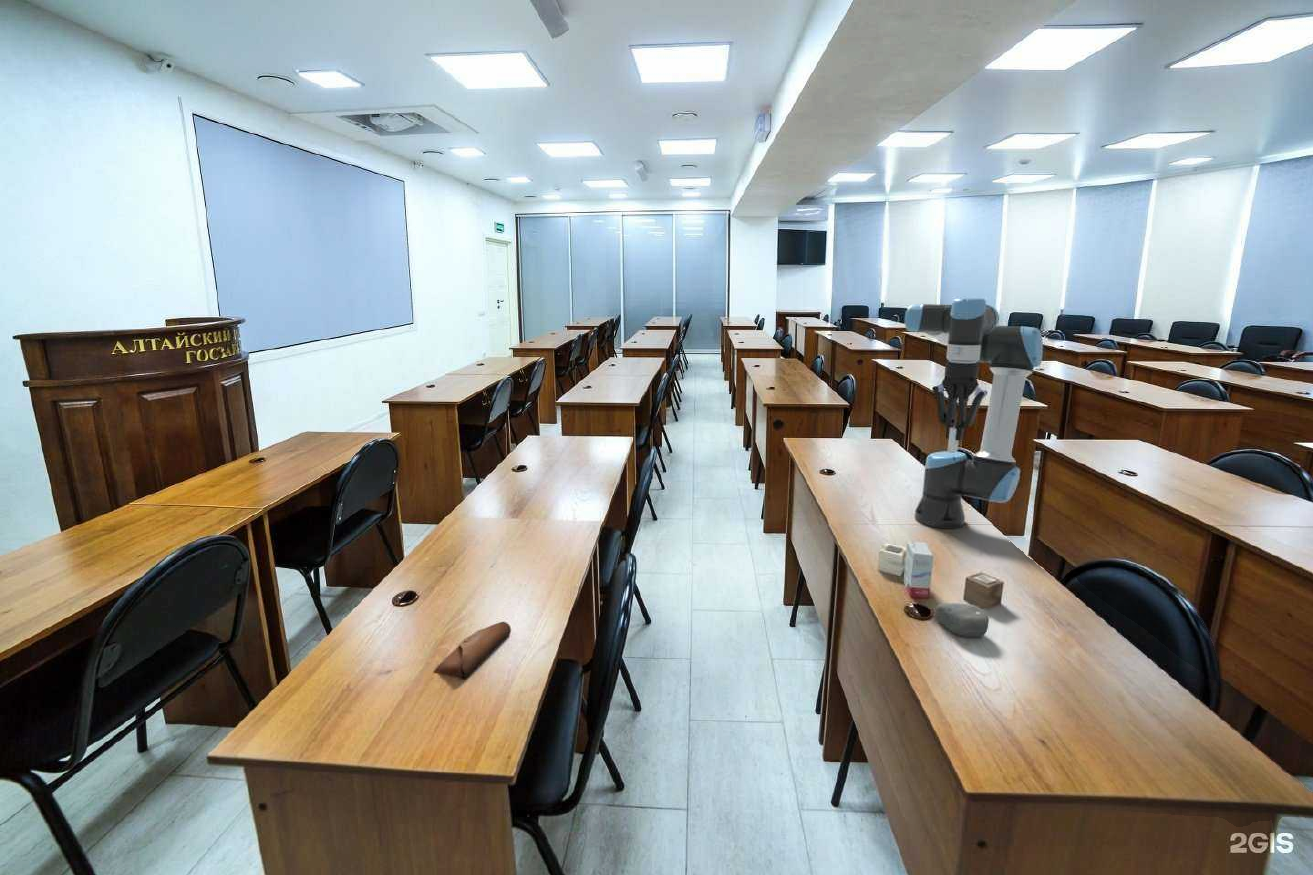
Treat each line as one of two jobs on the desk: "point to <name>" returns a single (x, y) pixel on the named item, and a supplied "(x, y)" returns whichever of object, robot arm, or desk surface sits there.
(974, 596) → the walnut block marked
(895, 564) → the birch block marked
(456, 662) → the sunglasses case
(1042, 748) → the desk surface
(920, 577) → the ink box
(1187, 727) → the desk surface
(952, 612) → the stone
